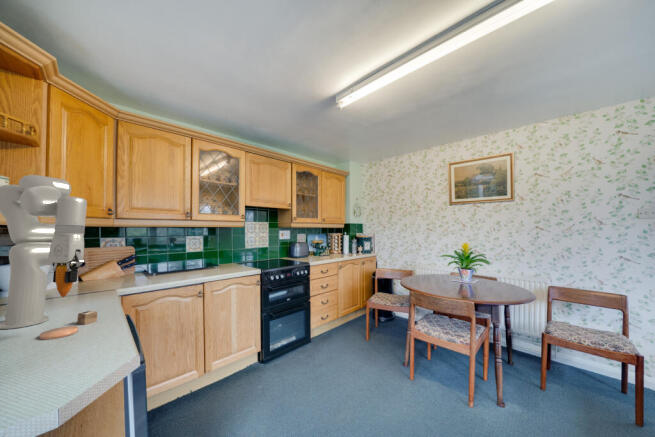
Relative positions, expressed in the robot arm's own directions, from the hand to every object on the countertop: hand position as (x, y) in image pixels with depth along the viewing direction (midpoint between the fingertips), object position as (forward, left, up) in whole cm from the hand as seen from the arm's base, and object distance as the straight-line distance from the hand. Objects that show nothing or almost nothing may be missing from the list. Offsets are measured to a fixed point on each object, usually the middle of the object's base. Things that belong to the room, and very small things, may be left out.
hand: (64, 281), depth 86 cm
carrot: (0, 0, -6) cm, 6 cm away
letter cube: (-5, +11, -18) cm, 22 cm away
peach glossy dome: (0, 0, -18) cm, 18 cm away
